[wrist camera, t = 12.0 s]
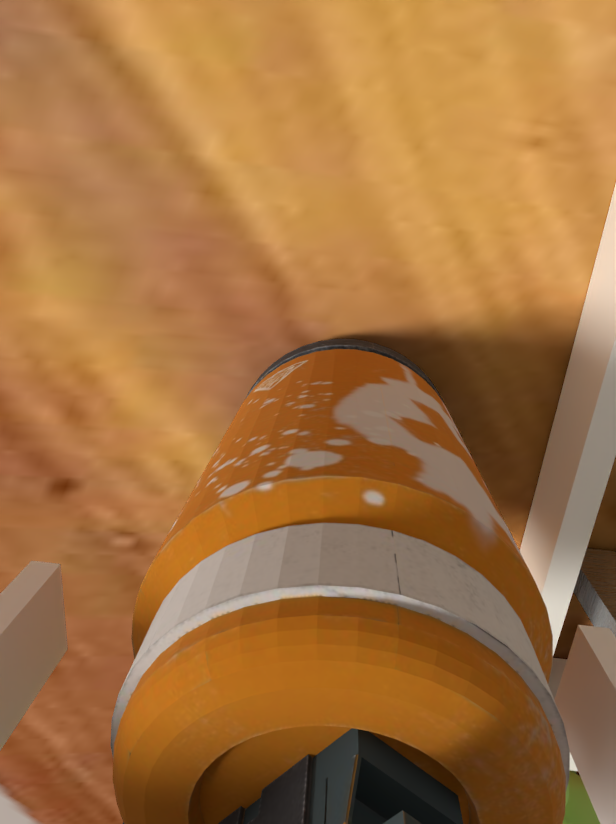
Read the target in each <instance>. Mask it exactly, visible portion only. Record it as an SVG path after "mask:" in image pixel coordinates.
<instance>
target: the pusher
mask: <svg viewBox="0 0 616 824" xmlns="http://www.w3.org/2000/svg"><path fill="white" fill-rule="evenodd" d="M573 592H574V594H575V595H576V597H577V599H578V600H579V602H580V604H581V605H582V607H583V609H584V610H585V612H586V614H587V615H588V617H589V619H590V620H591V622H592V624H593V625H594V627H603V628H610V630H611V631H612V633H613V634H614V636H615V637H616V551H609V550H600V549H591V548H587V549H586V552H585V556H584V559H583V562H582V565H581V568H580V572H579V575H578V578H577V581H576V584H575V588H574V591H573Z"/></svg>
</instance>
